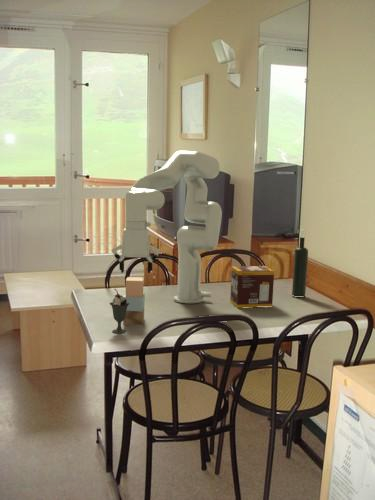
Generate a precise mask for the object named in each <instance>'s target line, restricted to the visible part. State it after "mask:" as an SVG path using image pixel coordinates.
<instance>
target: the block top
mask: <svg viewBox="0 0 375 500" xmlns="http://www.w3.org/2000/svg"><path fill="white" fill-rule="evenodd" d="M145 295H146V294H145V293H144V292H143V297H126V292H125V293H124V295H122V296H123V297H124V298H125V299H126V300H127V302H128V303H129V305H128V306H127V311H143V309H144V310H145Z"/></svg>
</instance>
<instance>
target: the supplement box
mask: <svg viewBox="0 0 375 500" xmlns="http://www.w3.org/2000/svg"><path fill="white" fill-rule="evenodd" d="M274 277H275V271H274V270H273V269H271V268H269V267H268V266H266V265H244V266H243V265H242V266H241V265H238V266H237V265H235V266H234V265H233V266H232V265H231V276H230V300H229V302H230V303H231V304H232V305H233V304H234V305H235V306H236V307H237V308H236V309H244V308H243V307H257V306H272V307H273V299H274V297H273V296H274V281H275V279H274ZM234 305H233V306H234ZM235 306H234V307H235Z"/></svg>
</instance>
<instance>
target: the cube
mask: <svg viewBox="0 0 375 500" xmlns="http://www.w3.org/2000/svg"><path fill="white" fill-rule="evenodd" d="M144 282H145V281H144V277H141V276H139V277H137V276H136V277H135V276H132V277H131V276H127V277H126V279H125V293H126V297H143V293H144Z"/></svg>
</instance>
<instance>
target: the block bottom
mask: <svg viewBox="0 0 375 500" xmlns="http://www.w3.org/2000/svg"><path fill="white" fill-rule="evenodd" d="M144 320H145V308H144V309H143V311H126V317H125V319H124V320H123V321H122V323H123V325H140V326H141V325H142V326H143V324H144Z"/></svg>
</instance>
